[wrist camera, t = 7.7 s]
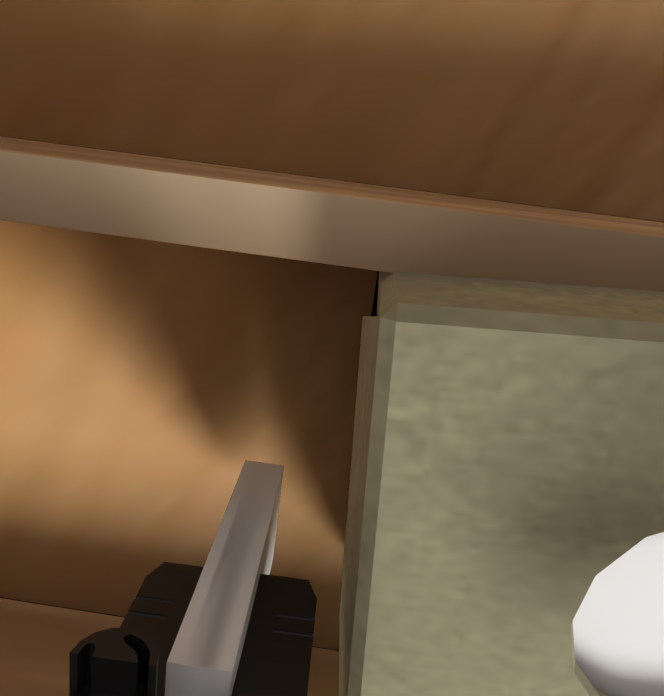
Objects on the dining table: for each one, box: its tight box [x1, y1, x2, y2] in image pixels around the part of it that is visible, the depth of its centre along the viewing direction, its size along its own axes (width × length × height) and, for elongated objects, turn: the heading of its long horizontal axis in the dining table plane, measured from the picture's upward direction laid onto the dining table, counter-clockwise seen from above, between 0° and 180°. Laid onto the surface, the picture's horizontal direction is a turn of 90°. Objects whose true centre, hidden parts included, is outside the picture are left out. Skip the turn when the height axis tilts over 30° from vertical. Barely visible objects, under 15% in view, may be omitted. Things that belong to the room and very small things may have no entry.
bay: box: [0, 137, 664, 696], centre depth 14 cm, size 15×34×8 cm, turn 83°
